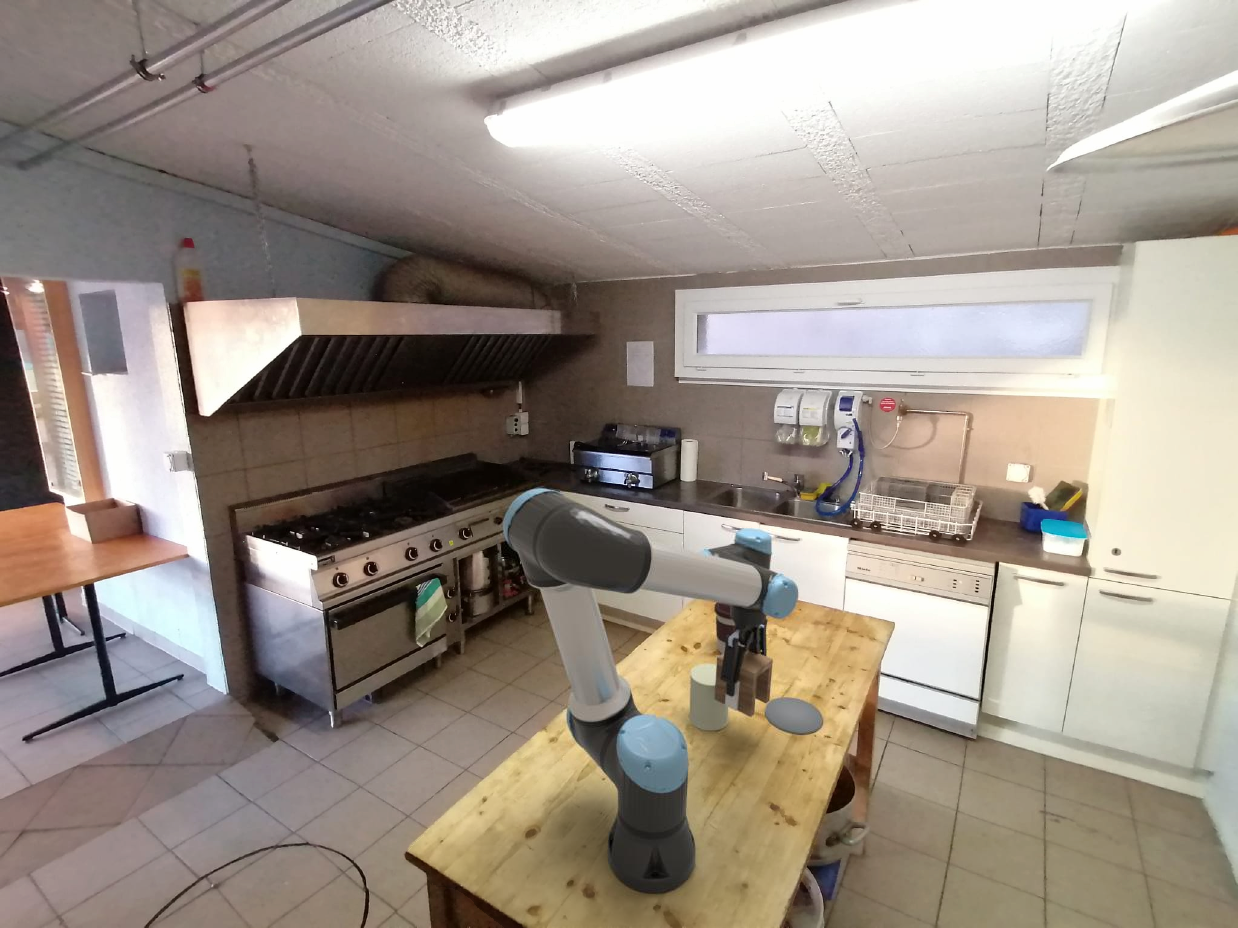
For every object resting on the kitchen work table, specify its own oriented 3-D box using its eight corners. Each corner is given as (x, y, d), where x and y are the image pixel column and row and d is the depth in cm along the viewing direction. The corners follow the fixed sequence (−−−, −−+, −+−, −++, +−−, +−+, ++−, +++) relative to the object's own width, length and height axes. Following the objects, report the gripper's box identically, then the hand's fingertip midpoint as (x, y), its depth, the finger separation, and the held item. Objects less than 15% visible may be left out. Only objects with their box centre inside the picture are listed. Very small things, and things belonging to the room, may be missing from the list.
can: (727, 733, 133) (730, 685, 131) (687, 728, 135) (688, 680, 133) (728, 708, 142) (730, 663, 140) (690, 703, 144) (691, 659, 141)
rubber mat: (807, 742, 130) (807, 739, 130) (755, 717, 139) (755, 714, 139) (831, 714, 140) (831, 712, 140) (781, 692, 148) (781, 690, 148)
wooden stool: (750, 716, 123) (754, 673, 122) (714, 699, 129) (717, 657, 127) (769, 700, 129) (772, 659, 127) (733, 684, 135) (736, 644, 133)
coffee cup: (753, 647, 170) (755, 599, 167) (740, 663, 162) (743, 612, 159) (721, 638, 175) (723, 591, 172) (707, 652, 167) (709, 603, 164)
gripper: (738, 623, 115) (731, 727, 119) (788, 592, 130) (780, 686, 134) (706, 611, 120) (700, 712, 124) (757, 582, 135) (750, 673, 139)
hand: (741, 698), depth 129 cm, fingers closed on wooden stool, 8 cm apart
